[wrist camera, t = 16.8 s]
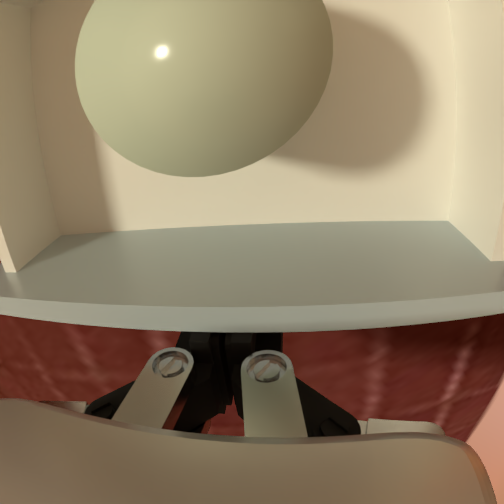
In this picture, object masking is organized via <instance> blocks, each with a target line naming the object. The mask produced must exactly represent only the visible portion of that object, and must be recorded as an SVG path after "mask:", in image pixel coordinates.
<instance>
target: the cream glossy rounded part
mask: <svg viewBox="0 0 504 504" xmlns="http://www.w3.org/2000/svg"><path fill="white" fill-rule="evenodd" d="M332 58H333V35H332V29H331V23H330V19H329V16H328V13H327V10H326V7H325V5H324V3H323V1H322V0H95V1H94V3H93V4H92V6H91V8H90V10H89V12H88V14H87V16H86V18H85V20H84V23H83V25H82V28H81V31H80V34H79V38H78V42H77V47H76V55H75V79H76V86H77V91H78V95H79V98H80V102H81V105H82V107H83V109H84V112H85V114H86V116H87V118H88V120H89V121H90V123H91V125H92V126H93V128H94V129H95V131H96V132H97V133H98V134H99V136H100V137H101V138H102V139H103V140H104V141H105V142H106V143H107V144H108V145H109V146H110V147H111V148H112V149H113V150H114V151H116V152H117V153H118V154H120V155H121V156H123V157H124V158H125V159H127V160H129V161H131V162H133V163H134V164H136V165H138V166H140V167H143V168H146V169H148V170H151V171H154V172H157V173H162V174H166V175H170V176H180V177H206V176H213V175H220V174H224V173H228V172H232V171H236V170H238V169H241V168H243V167H246V166H249V165H251V164H254V163H255V162H257V161H259V160H261V159H263V158H265V157H266V156H268V155H270V154H271V153H273V152H274V151H276V150H277V149H278V148H280V147H281V146H283V145H284V144H285V143H286V142H287V141H288V140H289V139H290V138H292V137H293V136H294V135H295V134H296V133H297V132H298V131H299V130H300V128H301V127H302V126H303V125H304V124H305V123H306V121H307V120H308V119H309V117H310V116H311V114H312V113H313V111H314V110H315V108H316V107H317V105H318V103H319V101H320V99H321V97H322V95H323V93H324V90H325V88H326V85H327V82H328V78H329V75H330V72H331V65H332Z"/></svg>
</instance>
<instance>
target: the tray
mask: <svg viewBox="0 0 504 504" xmlns="http://www.w3.org/2000/svg"><path fill="white" fill-rule="evenodd" d="M94 1H95V0H0V260H1V262H2V263H1V264H0V314H3V315H9V316H16V317H23V318H30V319H38V320H45V321H54V322H62V323H72V324H81V325H92V326H103V327H116V328H129V329H145V330H164V331H188V332H308V331H332V330H351V329H367V328H381V327H393V326H404V325H415V324H425V323H434V322H443V321H451V320H459V319H467V318H474V317H481V316H488V315H494V314H500V313H504V0H322V1H323V3H324V5H325V7H326V10H327V13H328V16H329V19H330V23H331V29H332V35H333V58H332V65H331V72H330V75H329V78H328V82H327V85H326V88H325V90H324V93H323V95H322V97H321V99H320V101H319V103H318V105H317V107H316V108H315V110H314V111H313V113H312V114H311V116H310V117H309V119H308V120H307V121H306V123H305V124H304V125H303V126H302V127H301V128H300V130H299V131H298V132H297V133H296V134H295V135H294V136H293V137H292V138H290V139H289V140H288V141H287V142H286V143H285V144H284V145H283V146H281V147H280V148H278V149H277V150H276V151H274V152H273V153H271V154H270V155H268V156H266V157H265V158H263V159H261V160H259V161H257V162H255V163H254V164H251V165H249V166H246V167H243V168H241V169H238V170H236V171H232V172H228V173H224V174H220V175H213V176H206V177H180V176H170V175H166V174H162V173H157V172H154V171H151V170H148V169H146V168H143V167H140V166H138V165H136V164H134V163H133V162H131V161H129V160H127V159H125V158H124V157H123V156H121V155H120V154H118V153H117V152H116V151H114V150H113V149H112V148H111V147H110V146H109V145H108V144H107V143H106V142H105V141H104V140H103V139H102V138H101V137H100V136H99V134H98V133H97V132H96V131H95V129H94V128H93V126H92V125H91V123H90V121H89V120H88V118H87V116H86V114H85V112H84V109H83V107H82V105H81V102H80V98H79V95H78V91H77V86H76V79H75V55H76V47H77V42H78V38H79V34H80V31H81V28H82V25H83V23H84V20H85V18H86V16H87V14H88V12H89V10H90V8H91V6H92V4H93V3H94Z"/></svg>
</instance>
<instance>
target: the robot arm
mask: <svg viewBox="0 0 504 504" xmlns="http://www.w3.org/2000/svg"><path fill="white" fill-rule="evenodd" d="M282 344H283V332H188V331H181V334H180V336H179V339H178V342H177V344H176V347H175V348H174V347H172V348H166V349H163V350H160V351H158V352H157V353H155V354H154V355H153V356H152V357H151V358H150V359H149V361H148V362H147V364H146V365H145V367H144V369H143V370H142V372H141V373H140V375H139V376H138V378H137V380H135V381H133V382H131V383H129V384H127V385H125V386H123V387H121V388H119V389H117V390H115V391H113V392H111V393H109V394H107V395H105V396H103V397H101V398H99V399H97V400H95V401H93V402H92V403H91V404H90V405H88V404H87V402H65V401H39V402H36V401H31V400H25V399H16V398H3V399H0V504H497V502H496V498H495V494H494V491H493V488H492V485H491V482H490V479H489V476H488V474H487V471H486V469H485V467H484V465H483V463H482V461H481V459H480V457H479V456H478V454H477V453H476V452H475V451H474V449H473V448H472V447H471V446H469V445H468V444H466V443H465V442H463V441H461V440H458V439H455V438H452V437H448V436H445V432H444V431H443V430H442V428H441V427H439V426H438V425H436V424H434V423H430V422H414V421H395V420H381V419H368V422H367V421H357V419H356V418H354V417H353V416H352V415H351V414H349V413H348V412H346V411H345V410H343V409H342V408H340V407H339V406H337V405H336V404H334V403H333V402H331V401H330V400H328V399H327V398H325V397H324V396H322V395H321V394H319V393H318V392H317V391H315V390H314V389H312V388H311V387H309V386H308V385H306V384H305V383H303V382H302V381H301V380H299V379H298V378H296V377H295V375H294V370H293V366H292V363H291V361H290V359H289V358H288V357H287V356H286V355H285V354H283V353H282ZM233 395H234V400H235V405H236V407H237V412H238V415H239V416H240V417H241V418H242V419H243V420H244V430H245V437H240V436H224V435H211V434H208V431H209V429H210V426H211V418H212V417H214V416H215V415H217V414H218V413H222V414H225V410H226V405H231V404H232V400H233Z"/></svg>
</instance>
